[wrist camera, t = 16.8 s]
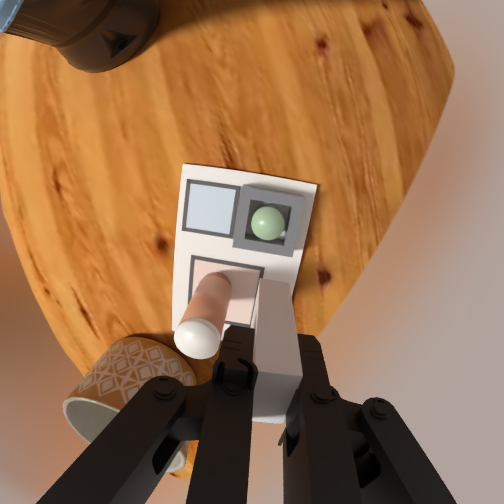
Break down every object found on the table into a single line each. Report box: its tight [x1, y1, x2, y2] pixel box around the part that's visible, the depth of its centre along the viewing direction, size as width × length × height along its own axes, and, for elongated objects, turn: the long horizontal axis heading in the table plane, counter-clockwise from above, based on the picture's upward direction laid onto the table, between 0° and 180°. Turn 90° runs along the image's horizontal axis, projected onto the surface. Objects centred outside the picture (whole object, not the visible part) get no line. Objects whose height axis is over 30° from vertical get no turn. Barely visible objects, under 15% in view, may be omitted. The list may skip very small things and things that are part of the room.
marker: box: [174, 272, 232, 359], centre depth 30 cm, size 4×4×12 cm
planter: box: [63, 337, 197, 473], centre depth 36 cm, size 19×19×16 cm
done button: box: [251, 204, 285, 240], centre depth 31 cm, size 4×4×2 cm
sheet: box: [172, 164, 317, 341], centre depth 35 cm, size 16×24×1 cm, turn 171°
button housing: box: [232, 185, 305, 257], centre depth 32 cm, size 7×7×2 cm
